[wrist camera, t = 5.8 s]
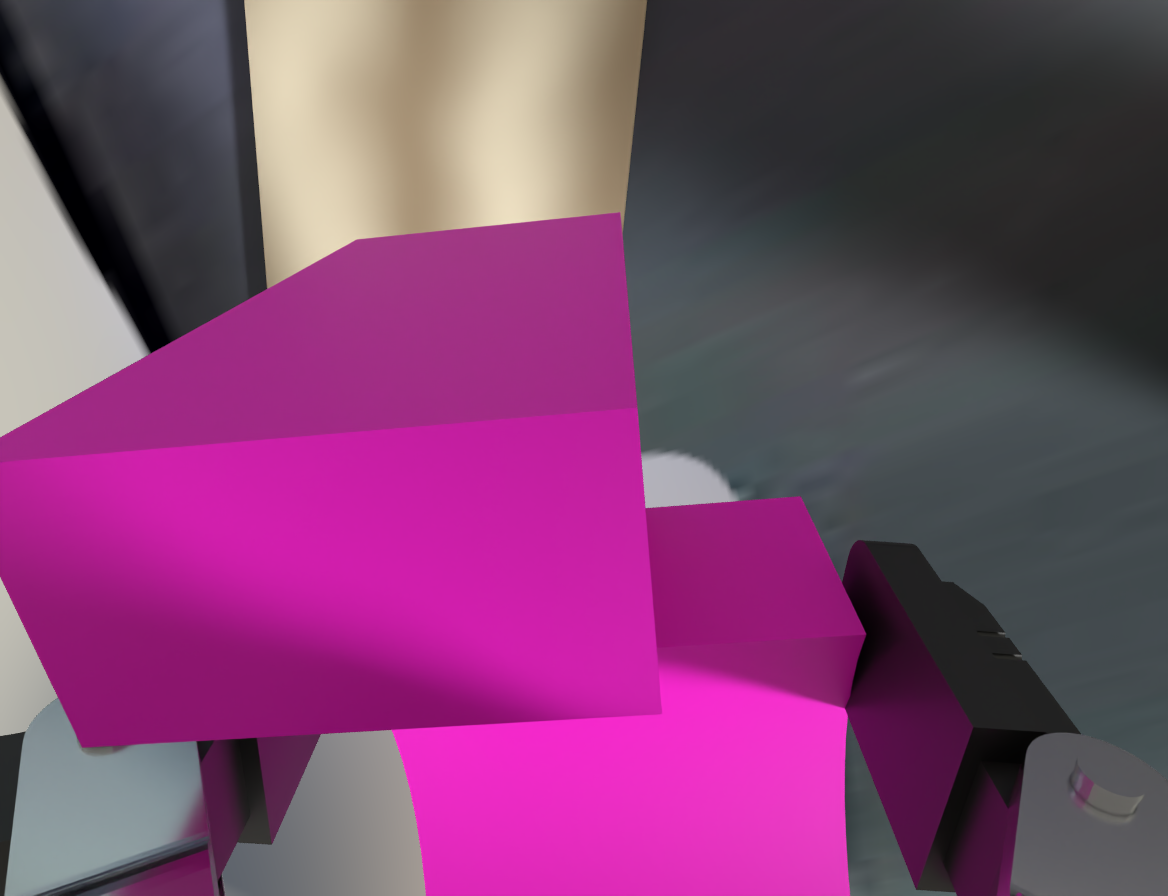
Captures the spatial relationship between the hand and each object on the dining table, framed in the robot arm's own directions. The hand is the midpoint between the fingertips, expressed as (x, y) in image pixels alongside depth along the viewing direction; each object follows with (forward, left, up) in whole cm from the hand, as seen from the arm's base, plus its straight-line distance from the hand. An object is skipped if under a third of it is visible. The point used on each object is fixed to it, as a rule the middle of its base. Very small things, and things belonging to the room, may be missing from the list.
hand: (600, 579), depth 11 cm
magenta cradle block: (-1, +3, -2) cm, 4 cm away
